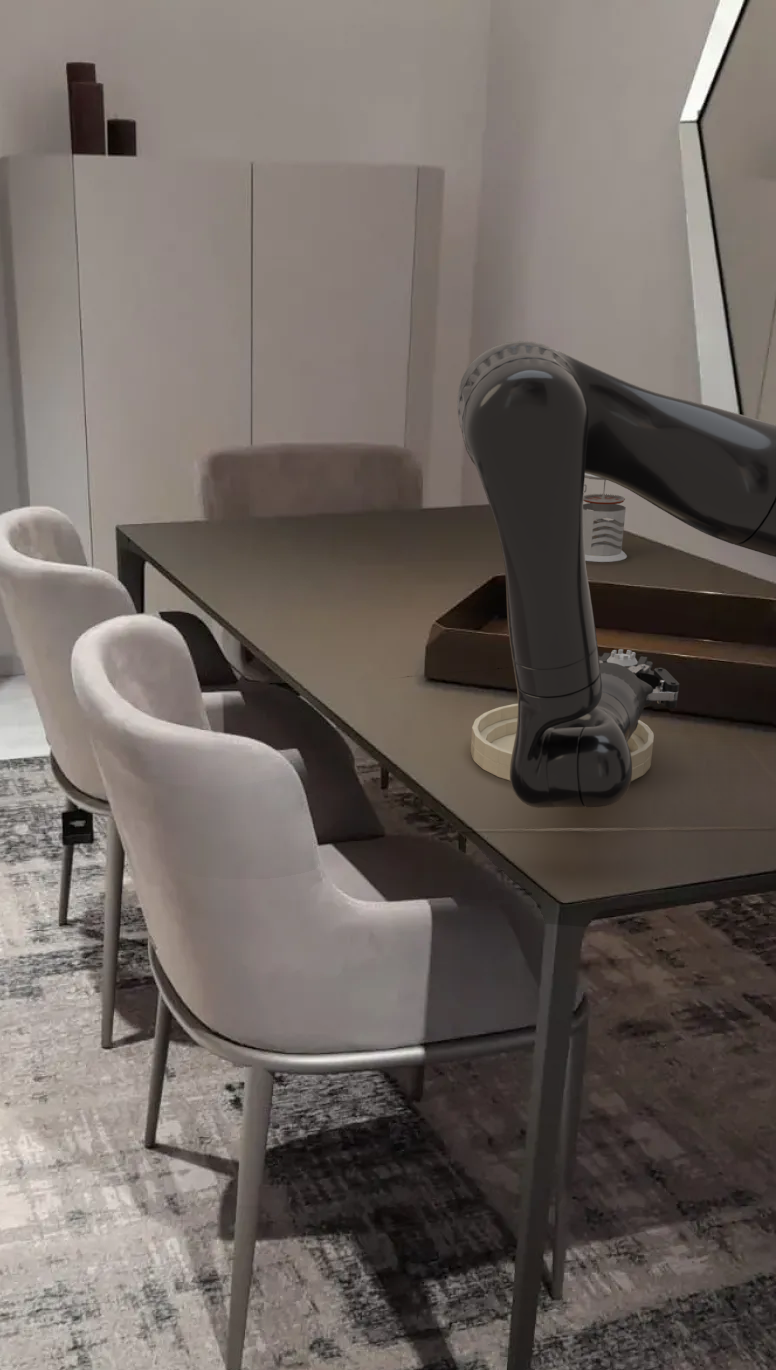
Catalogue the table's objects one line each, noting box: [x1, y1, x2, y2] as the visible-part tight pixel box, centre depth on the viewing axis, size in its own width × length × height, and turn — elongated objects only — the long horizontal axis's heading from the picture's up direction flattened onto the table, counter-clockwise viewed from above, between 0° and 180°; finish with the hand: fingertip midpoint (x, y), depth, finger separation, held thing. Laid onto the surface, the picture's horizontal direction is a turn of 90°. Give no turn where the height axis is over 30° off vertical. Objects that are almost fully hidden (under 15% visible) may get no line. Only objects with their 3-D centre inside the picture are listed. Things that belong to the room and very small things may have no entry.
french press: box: [583, 473, 628, 563], centre depth 231 cm, size 10×12×25 cm
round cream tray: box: [470, 703, 655, 782], centre depth 149 cm, size 19×19×4 cm
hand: (624, 663), depth 149 cm, fingers closed on rook chess piece, 3 cm apart
